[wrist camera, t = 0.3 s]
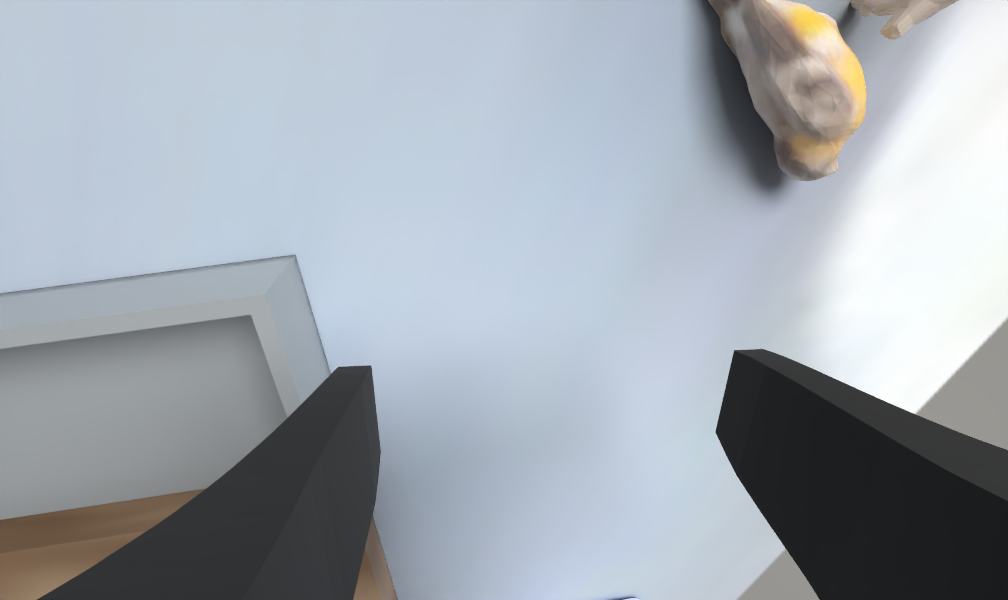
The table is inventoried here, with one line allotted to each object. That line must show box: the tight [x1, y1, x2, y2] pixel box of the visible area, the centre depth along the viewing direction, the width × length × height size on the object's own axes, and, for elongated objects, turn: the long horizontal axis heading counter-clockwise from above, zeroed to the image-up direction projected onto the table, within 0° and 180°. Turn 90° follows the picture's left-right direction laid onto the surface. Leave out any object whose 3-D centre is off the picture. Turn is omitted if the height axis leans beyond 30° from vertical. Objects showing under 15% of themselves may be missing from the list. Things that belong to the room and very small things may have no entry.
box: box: [0, 255, 331, 520], centre depth 19 cm, size 10×18×4 cm, turn 96°
